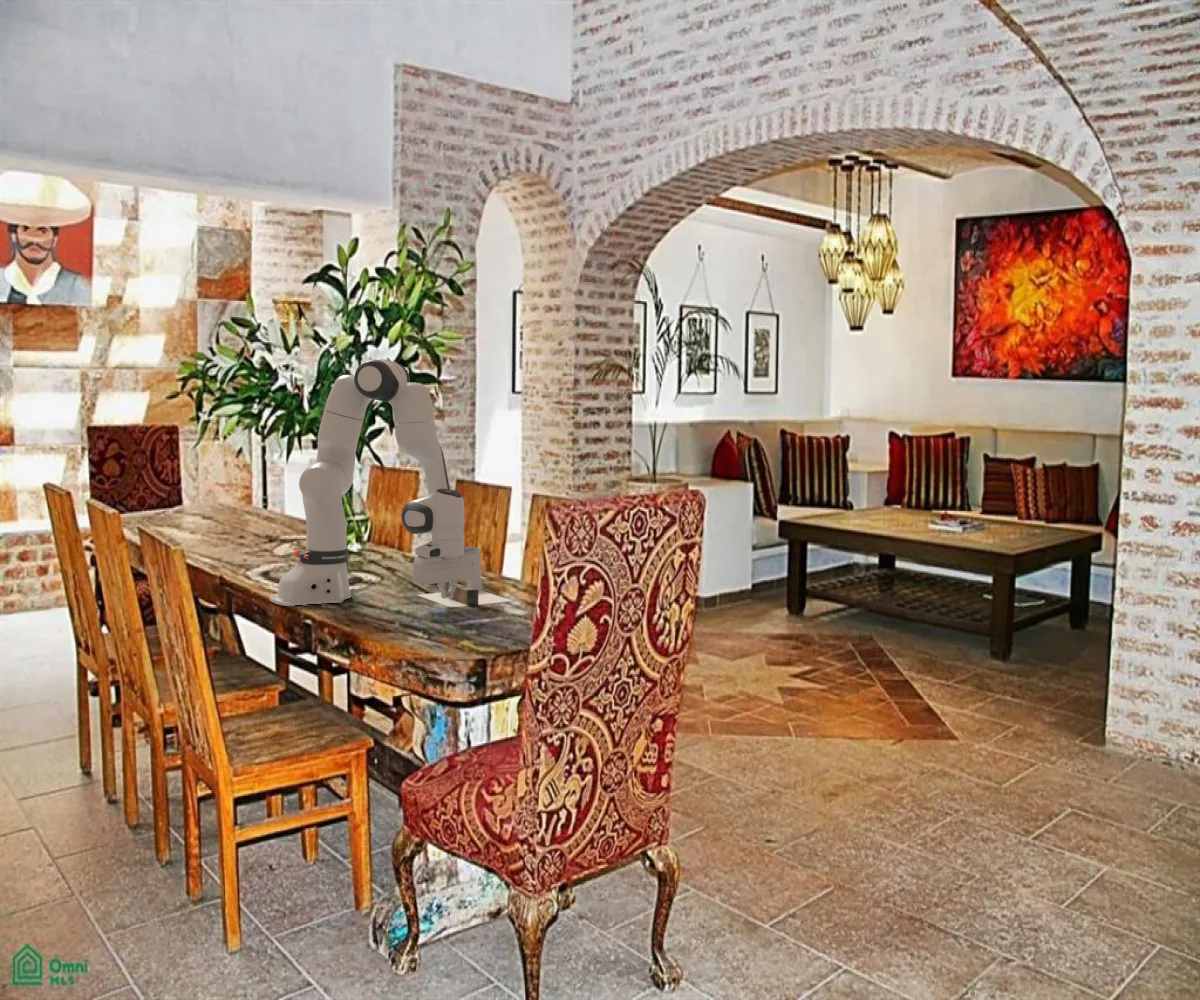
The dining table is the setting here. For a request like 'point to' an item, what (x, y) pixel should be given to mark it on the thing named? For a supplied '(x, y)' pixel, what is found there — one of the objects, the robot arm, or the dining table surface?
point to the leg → (464, 595)
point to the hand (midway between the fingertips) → (447, 597)
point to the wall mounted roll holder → (482, 599)
